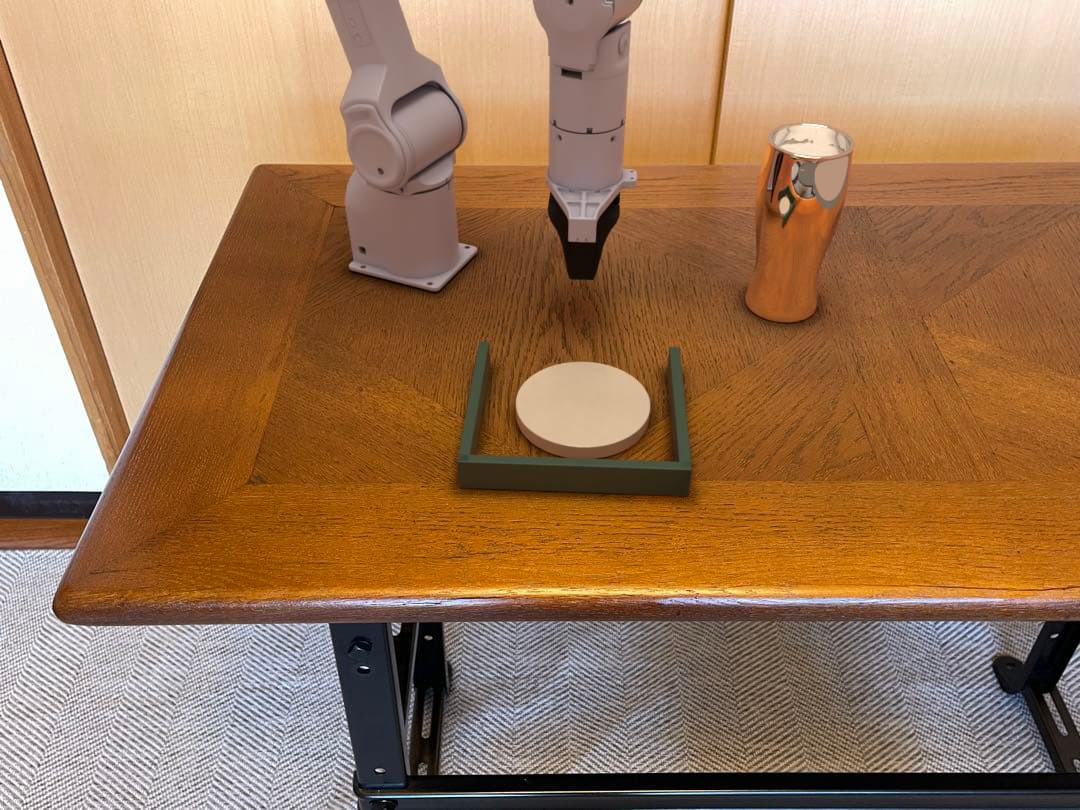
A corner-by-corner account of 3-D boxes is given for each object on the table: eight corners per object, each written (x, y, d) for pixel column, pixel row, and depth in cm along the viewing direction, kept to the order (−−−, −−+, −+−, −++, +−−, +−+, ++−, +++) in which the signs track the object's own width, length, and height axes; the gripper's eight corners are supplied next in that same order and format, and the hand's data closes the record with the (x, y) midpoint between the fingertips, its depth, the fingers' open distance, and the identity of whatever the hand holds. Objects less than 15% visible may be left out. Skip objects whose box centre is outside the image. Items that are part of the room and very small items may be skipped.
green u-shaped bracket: (480, 366, 74) (479, 341, 72) (676, 372, 73) (679, 346, 72) (459, 488, 63) (456, 461, 62) (688, 496, 63) (692, 469, 61)
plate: (495, 440, 67) (494, 428, 66) (542, 362, 74) (542, 350, 74) (628, 473, 64) (629, 460, 64) (664, 389, 72) (665, 377, 71)
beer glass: (822, 330, 78) (860, 162, 68) (738, 321, 79) (764, 154, 69) (820, 286, 83) (855, 124, 73) (741, 278, 84) (765, 118, 74)
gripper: (643, 162, 63) (630, 326, 72) (639, 83, 74) (628, 233, 83) (539, 159, 63) (540, 323, 72) (551, 81, 75) (550, 231, 83)
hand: (581, 275), depth 78 cm, fingers closed
